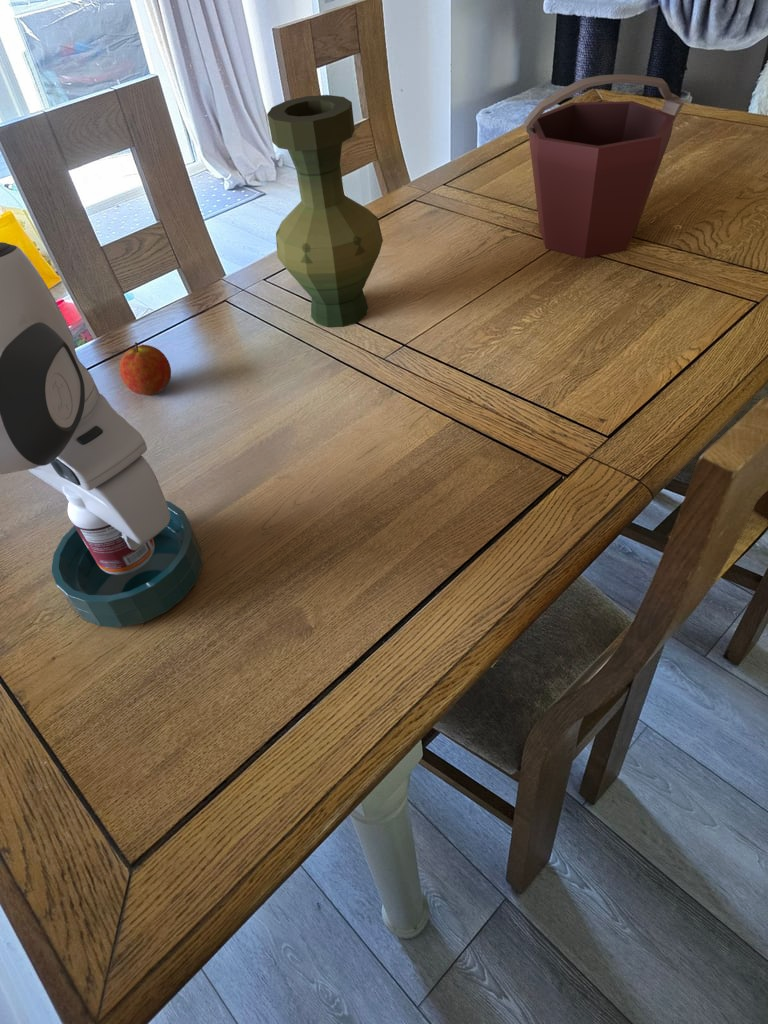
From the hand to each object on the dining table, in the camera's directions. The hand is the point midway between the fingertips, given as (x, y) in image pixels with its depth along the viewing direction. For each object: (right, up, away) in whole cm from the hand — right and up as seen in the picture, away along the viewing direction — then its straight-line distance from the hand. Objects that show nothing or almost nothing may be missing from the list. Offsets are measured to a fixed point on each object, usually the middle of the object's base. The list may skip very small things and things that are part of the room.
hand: (113, 528), depth 72 cm
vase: (+21, +34, +42) cm, 58 cm away
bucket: (+64, +51, +53) cm, 97 cm away
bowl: (+1, -5, +6) cm, 8 cm away
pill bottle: (0, -3, +3) cm, 4 cm away
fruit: (-6, +20, +31) cm, 37 cm away
